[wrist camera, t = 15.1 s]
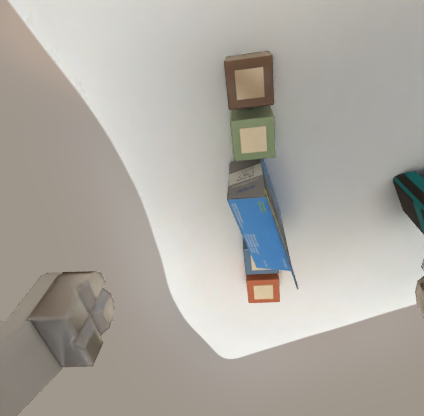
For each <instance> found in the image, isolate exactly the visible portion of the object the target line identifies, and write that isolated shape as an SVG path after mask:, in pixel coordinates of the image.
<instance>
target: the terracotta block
mask: <svg viewBox="0 0 424 416" xmlns="http://www.w3.org/2000/svg"><path fill="white" fill-rule="evenodd" d="M246 281H247V291H248V301H249V303H264V302H280V294H279V276H278V273H270V274H250V275H246Z"/></svg>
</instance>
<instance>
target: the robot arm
mask: <svg viewBox="0 0 424 416" xmlns="http://www.w3.org/2000/svg"><path fill="white" fill-rule="evenodd" d="M421 267H422V269H423V270H424V260H423V263H422V266H421ZM104 284H105V280H104V278H103V276H102V274H101V273H100V272H97V271H91V272H63V273H46V274H44V275H42V276H41V277H40V278H39V279H38V280H37V282H36V283H35V284H34V285H33V287H32V288H31V289H30V291H29V292H28V293H27V294H26V296H25V297H24V298H23V299H22V301H21V302H20V303H19V304H18V306H17V307H16V309H15V310H14V311H13V312H12V313H11V315H10V316H9V317H8V318H7V320H6V321H3V322H0V416H17V415H18V414H19V413H20V412H21V411H22V410H23V409H24V408H25V407H26V406H27V405H28V404H29V402H31V401H32V400H33V398H34V397H35V396H36V395H37V394H38V393H39V392H40V391H41V390H42V389H43V388H44V387H45V386H46V385H47V384H48V383H49V382H50V381H51V380H52V379H53V378H54V377H55V376H56V375H57V374H58V373H59V372H60V371H61V370H62V368H61V367H86V366H93V365H94V363H95V360H96V358H97V356H98V353H99V351H100V349H101V346H102V344H103V341H102V337H101V335H102V334H103V333H104V332H105V331H106V330H108V329H109V328H110V325H111V322H112V320H113V316H114V301H113V298H112V295H111V293H109V292H108V291H107V290H105V289H104V288H103V286H104ZM415 293H416V301H417V305H418V307H419V310H420V312H421V314H422V316H423V318H424V276H423V277H422V278H421V279H419V280H418V281H417V286H416V291H415Z"/></svg>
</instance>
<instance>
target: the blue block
mask: <svg viewBox="0 0 424 416" xmlns="http://www.w3.org/2000/svg"><path fill="white" fill-rule="evenodd" d="M243 251H244V261H245V271H246V275H250V274H270V273H279V270H277V269H262V268H256V265H255V263H254V261H253V258H252V256H251V254H250V251H249V249H248V247H247V244H246V242H245V240H244V238H243Z"/></svg>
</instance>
